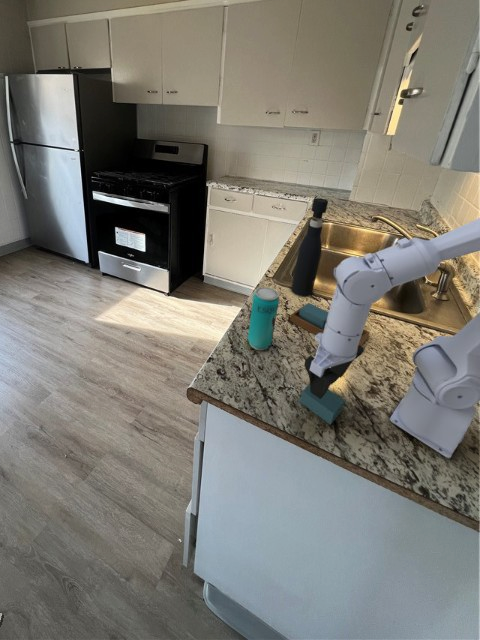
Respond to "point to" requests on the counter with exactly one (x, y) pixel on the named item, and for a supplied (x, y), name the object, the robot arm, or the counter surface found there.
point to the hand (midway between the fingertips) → (326, 383)
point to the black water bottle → (309, 252)
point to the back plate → (316, 330)
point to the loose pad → (323, 404)
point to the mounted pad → (313, 315)
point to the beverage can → (263, 317)
